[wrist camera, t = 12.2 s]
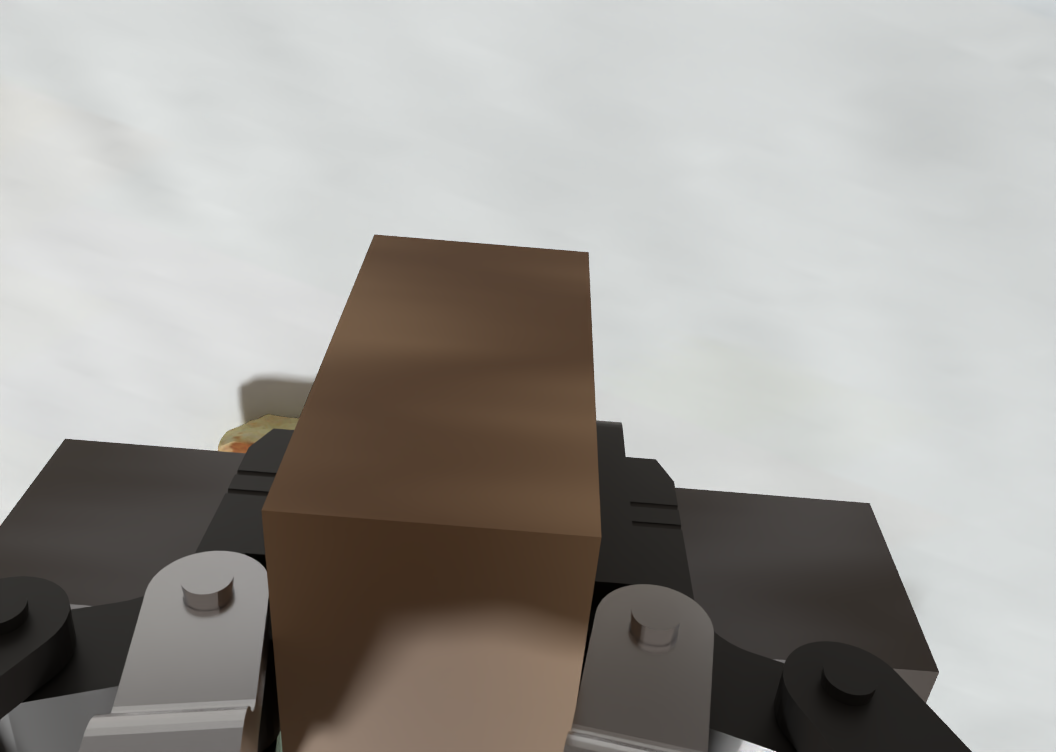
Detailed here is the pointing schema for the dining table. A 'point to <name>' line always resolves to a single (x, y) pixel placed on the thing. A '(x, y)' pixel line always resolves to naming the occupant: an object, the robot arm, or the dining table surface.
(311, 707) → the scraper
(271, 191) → the dining table surface
